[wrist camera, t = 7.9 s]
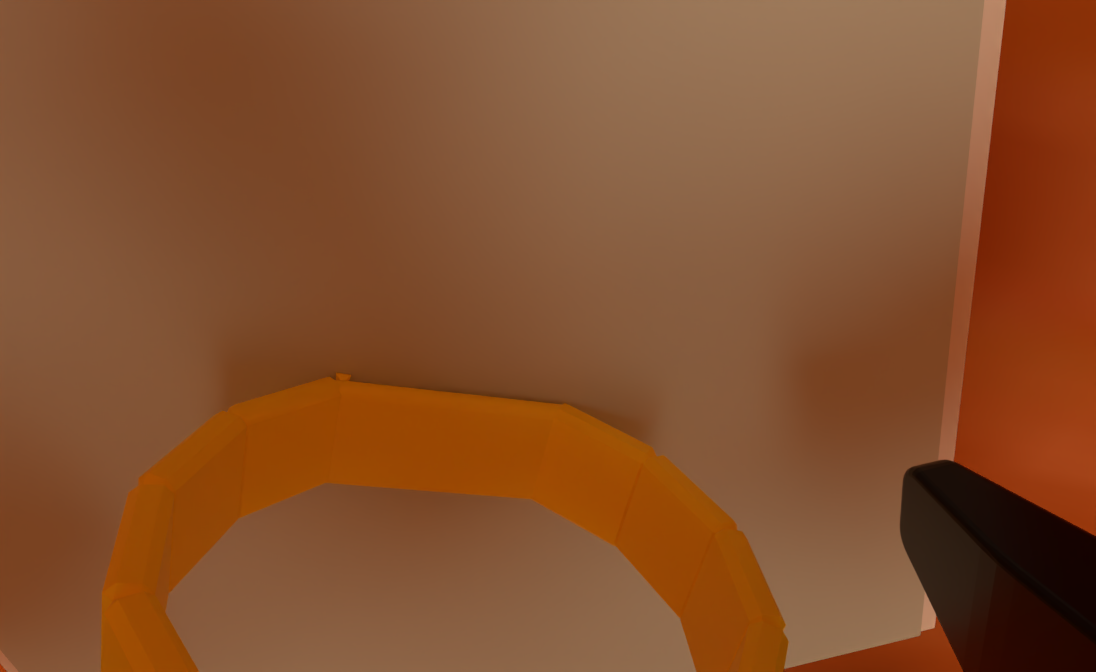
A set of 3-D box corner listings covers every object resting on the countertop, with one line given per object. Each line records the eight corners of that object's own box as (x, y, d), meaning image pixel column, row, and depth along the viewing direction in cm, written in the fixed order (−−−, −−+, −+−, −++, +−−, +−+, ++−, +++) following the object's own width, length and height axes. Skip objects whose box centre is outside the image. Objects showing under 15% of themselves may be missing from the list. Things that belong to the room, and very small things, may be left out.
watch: (196, 490, 11) (-59, 1070, 5) (210, 288, 10) (-95, 778, 4) (652, 547, 12) (811, 1074, 7) (715, 374, 11) (971, 846, 5)
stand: (844, 487, 18) (947, 647, 15) (181, 646, 18) (130, 847, 14) (861, -360, 10) (1086, -433, 7) (-317, -113, 10) (-679, -62, 7)
